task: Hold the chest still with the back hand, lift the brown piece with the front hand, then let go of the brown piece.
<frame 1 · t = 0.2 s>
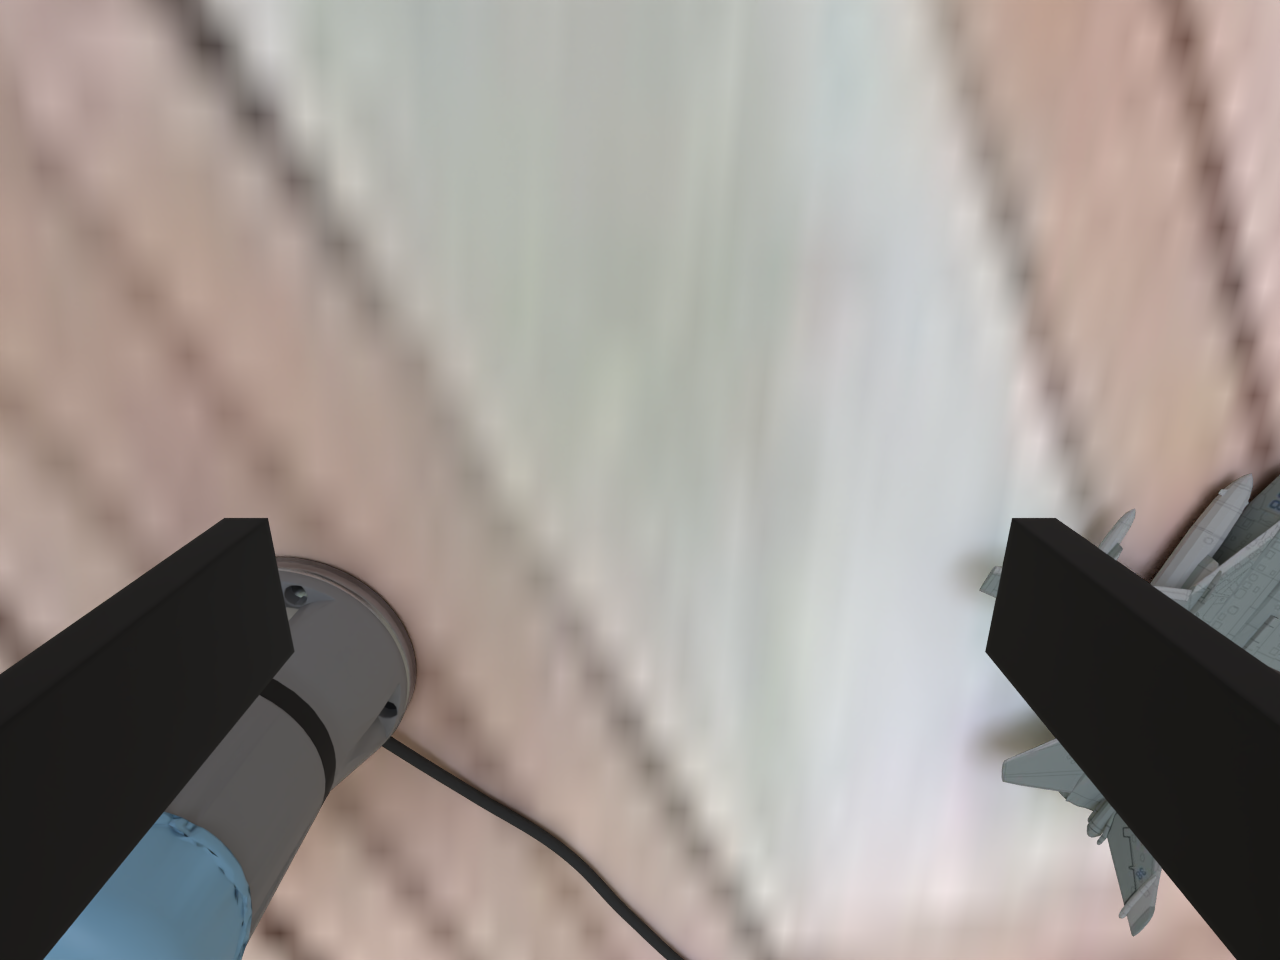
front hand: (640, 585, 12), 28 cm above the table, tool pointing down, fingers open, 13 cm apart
airplane: (1207, 564, 43), on the table
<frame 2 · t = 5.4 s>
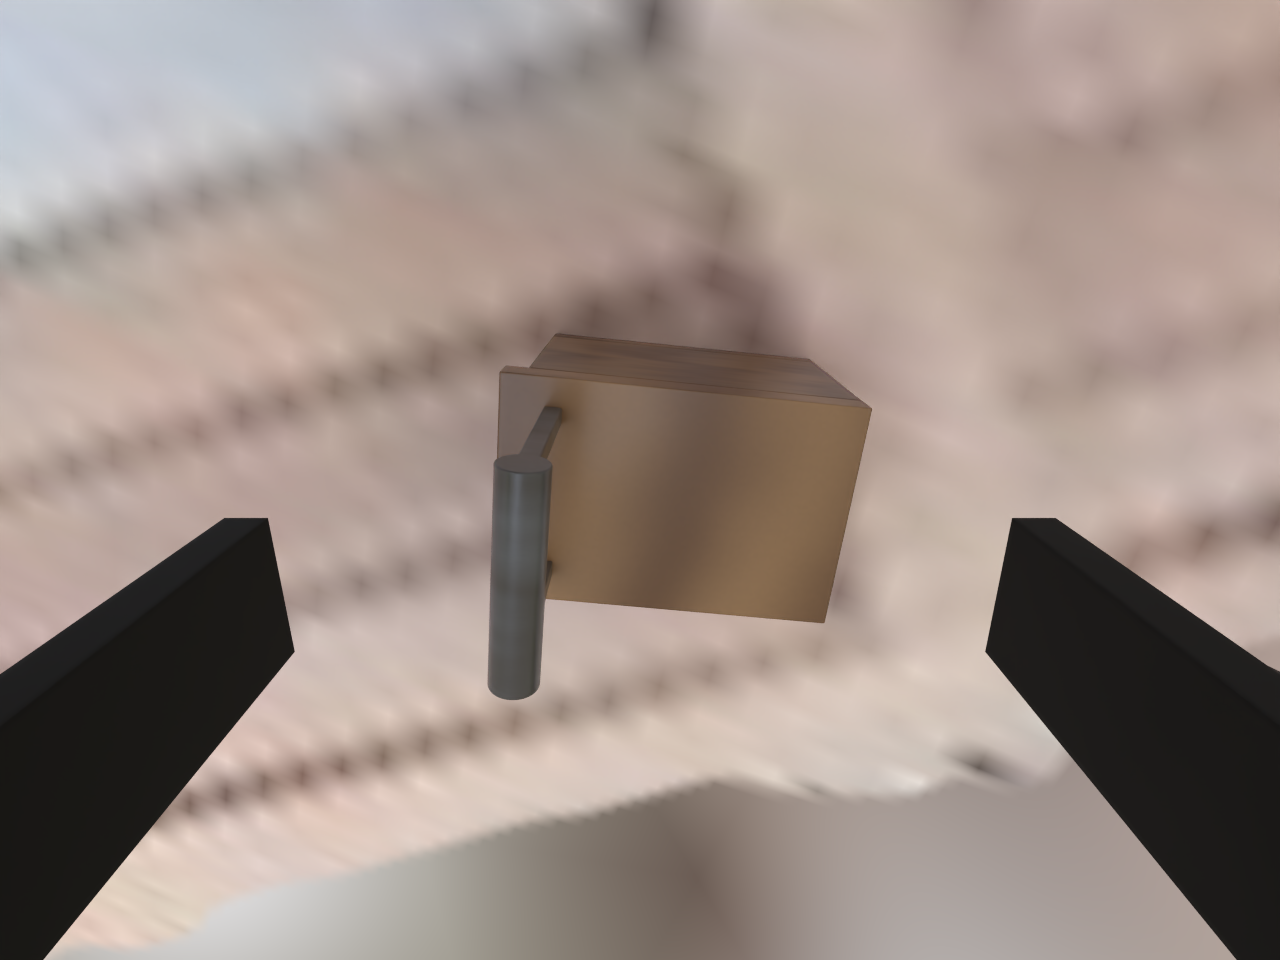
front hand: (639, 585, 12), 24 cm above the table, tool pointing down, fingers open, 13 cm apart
chest: (672, 434, 37), on the table
brown piece: (677, 542, 24), point 13 cm above the table, hinge at 0.0°
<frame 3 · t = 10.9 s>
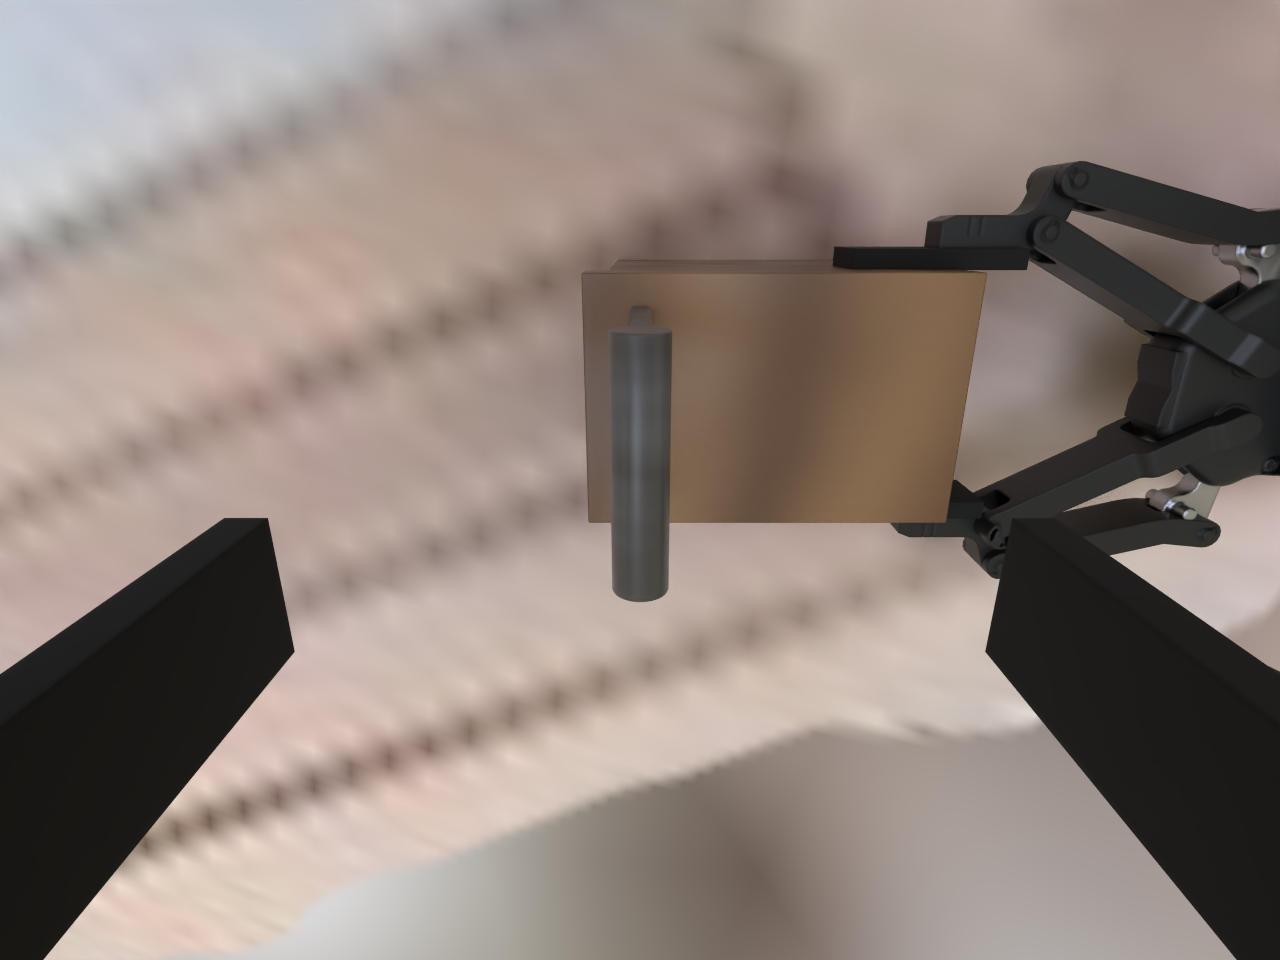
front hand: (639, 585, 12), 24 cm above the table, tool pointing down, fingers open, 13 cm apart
back hand: (830, 385, 28), fingers closed on chest, 9 cm apart
chest: (747, 357, 35), on the table, touching back hand
brown piece: (793, 430, 22), point 13 cm above the table, hinge at 0.0°
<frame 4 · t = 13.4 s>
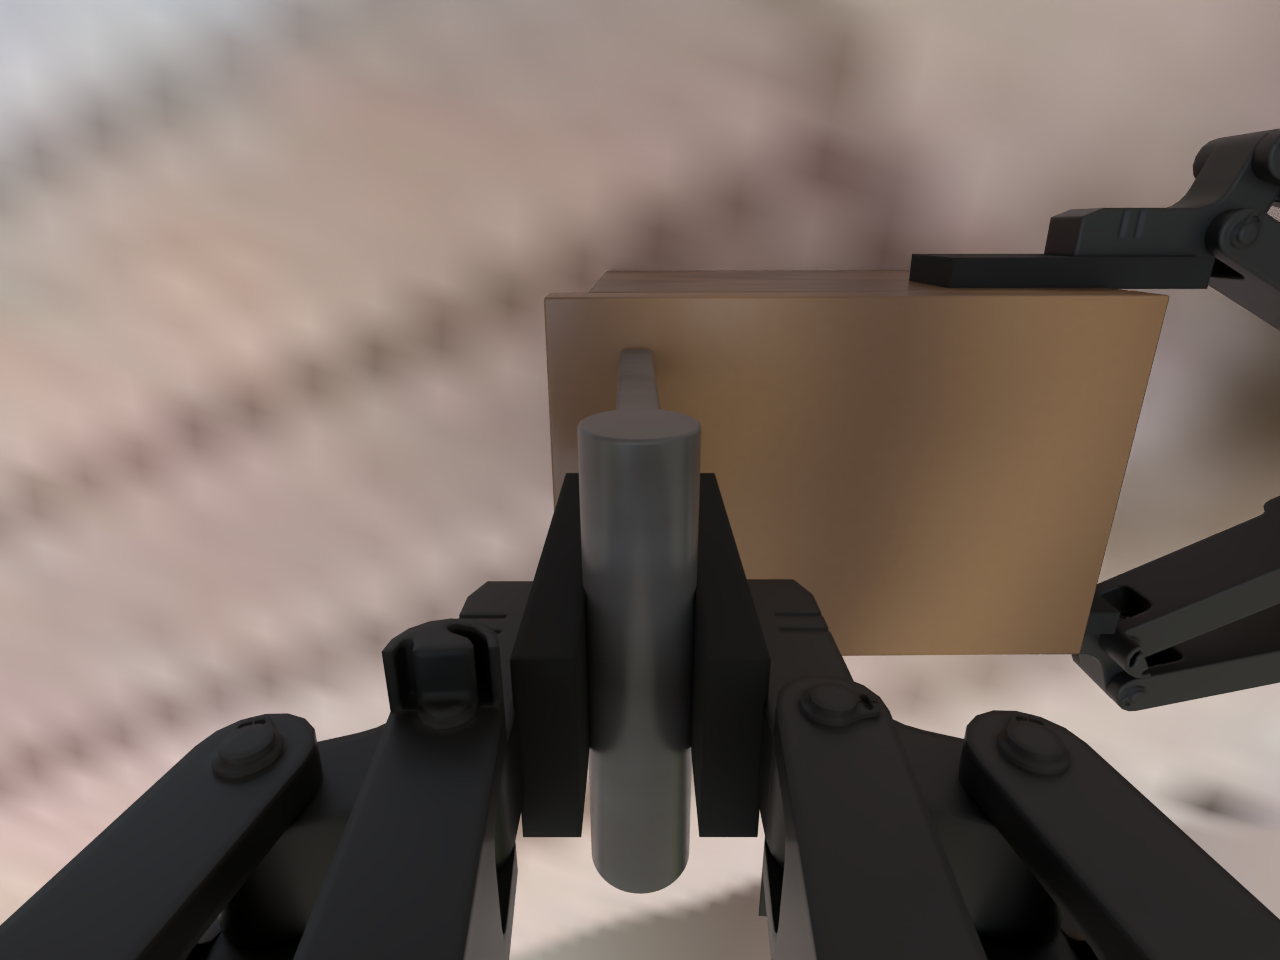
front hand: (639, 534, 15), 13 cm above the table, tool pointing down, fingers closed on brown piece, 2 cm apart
back hand: (905, 449, 20), fingers closed on chest, 9 cm apart
chest: (778, 397, 26), on the table, touching back hand
brown piece: (884, 552, 14), point 13 cm above the table, hinge at 0.8°, touching front hand
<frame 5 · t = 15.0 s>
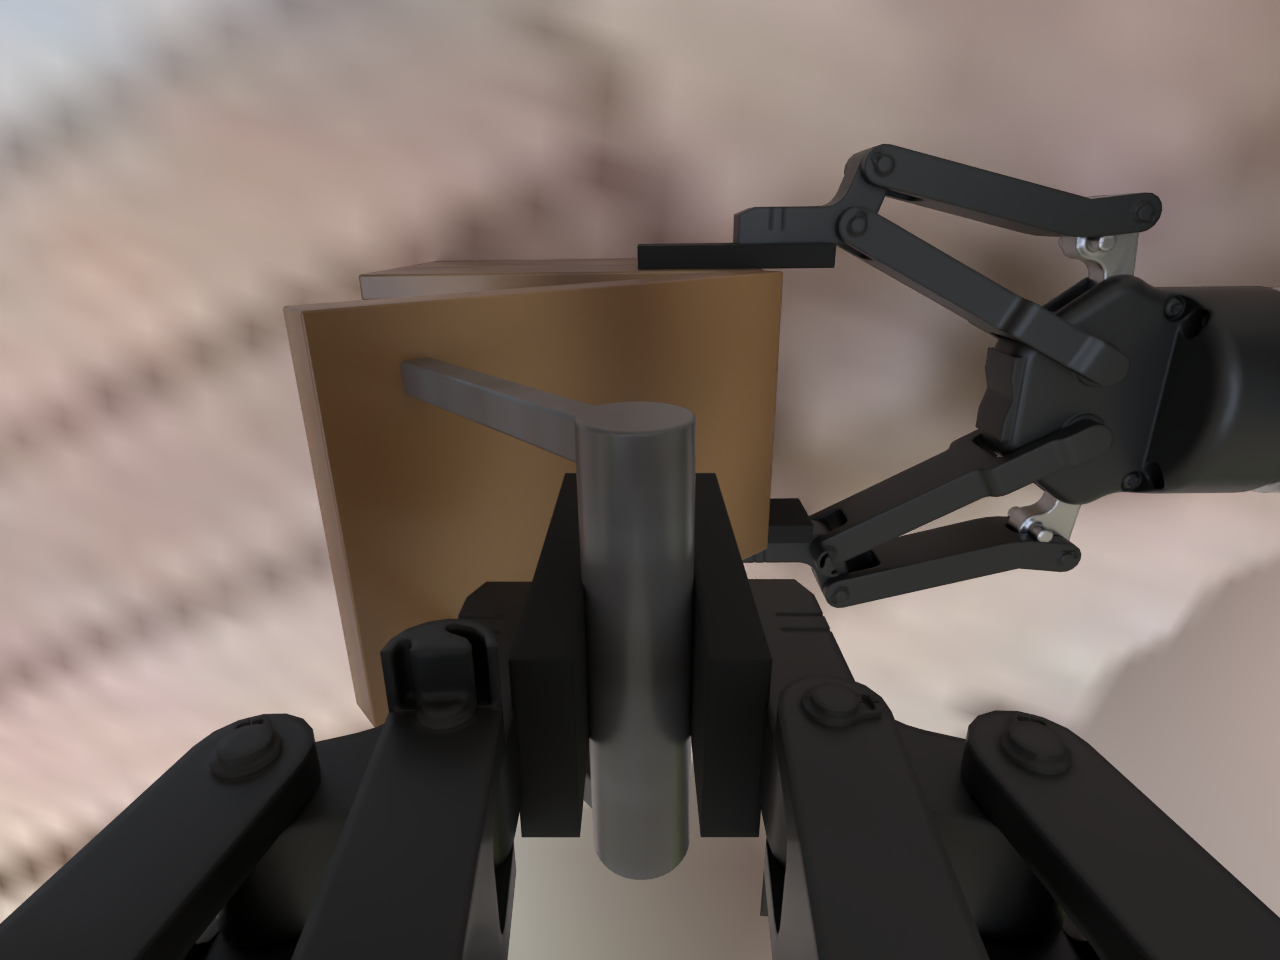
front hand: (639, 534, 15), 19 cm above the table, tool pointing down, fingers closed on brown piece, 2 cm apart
back hand: (640, 398, 26), fingers closed on chest, 9 cm apart
chest: (587, 364, 32), on the table, touching back hand
brown piece: (696, 502, 16), point 17 cm above the table, hinge at 41.1°, touching front hand
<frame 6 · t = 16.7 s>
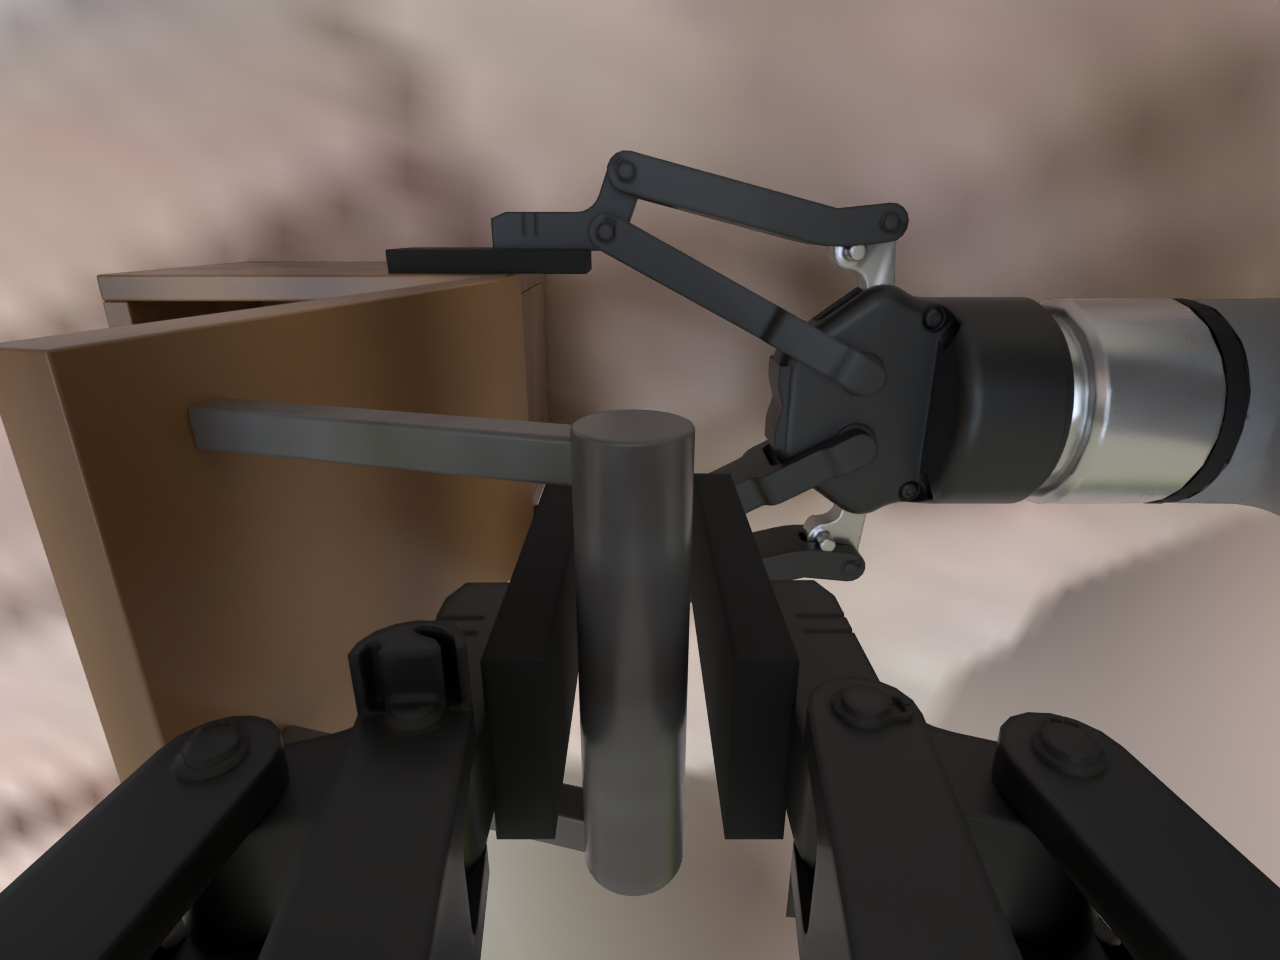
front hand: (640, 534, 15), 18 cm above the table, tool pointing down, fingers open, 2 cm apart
back hand: (416, 402, 26), fingers closed on chest, 9 cm apart
chest: (406, 368, 32), on the table, touching back hand
brown piece: (537, 514, 16), point 17 cm above the table, hinge at 74.5°
when the back hand's fingers open (7 cm above the table, at t = 20.7 s): chest stays where it is, on the table.
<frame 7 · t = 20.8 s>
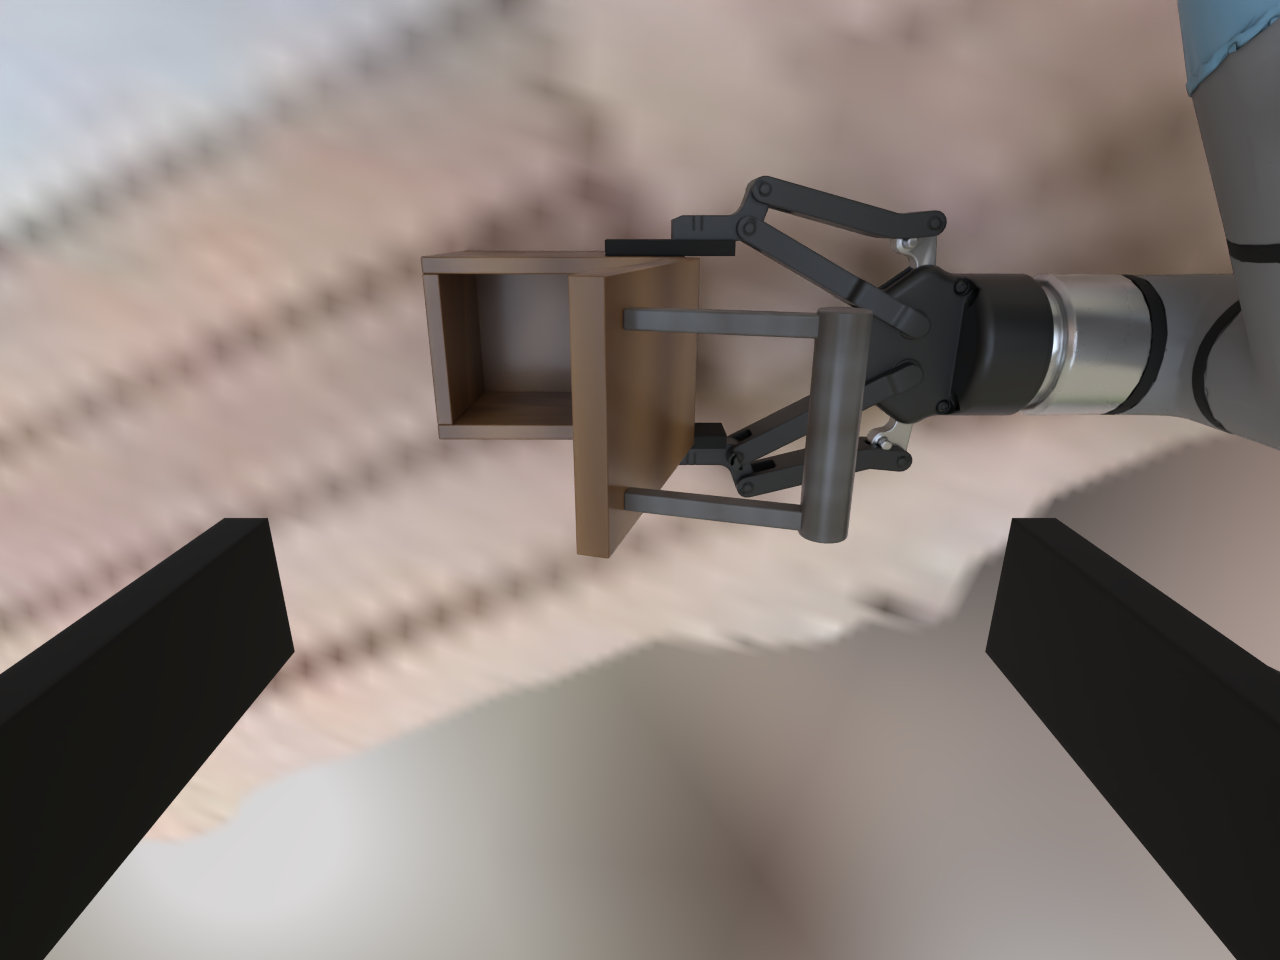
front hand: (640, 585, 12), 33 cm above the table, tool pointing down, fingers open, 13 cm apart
back hand: (607, 345, 37), fingers open, 9 cm apart
chest: (572, 328, 44), on the table
brown piece: (741, 388, 27), point 17 cm above the table, hinge at 73.7°
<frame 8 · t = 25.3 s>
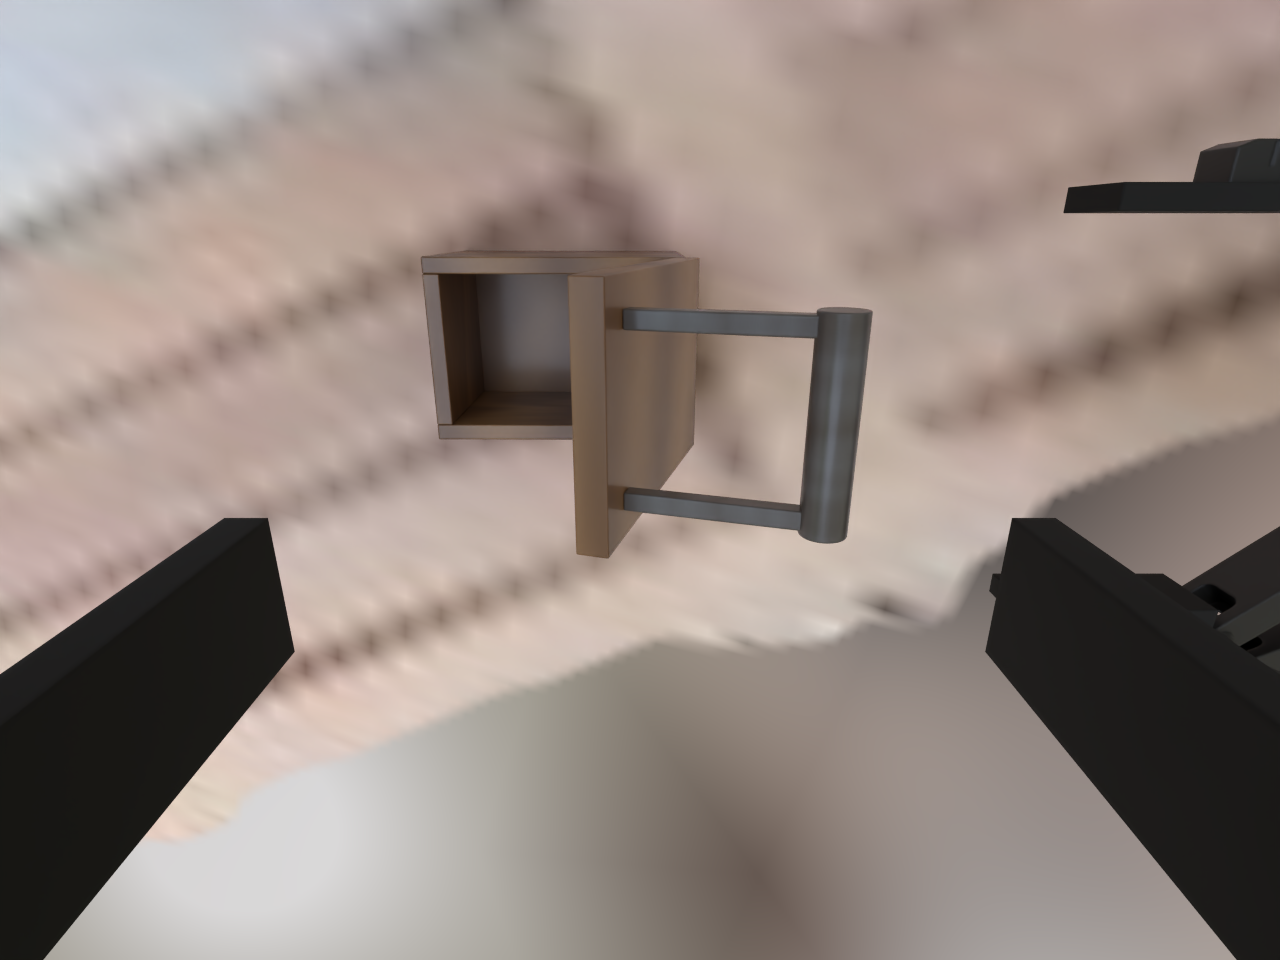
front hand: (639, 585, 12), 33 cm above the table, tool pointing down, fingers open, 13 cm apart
chest: (572, 328, 44), on the table
brown piece: (741, 388, 27), point 17 cm above the table, hinge at 73.7°
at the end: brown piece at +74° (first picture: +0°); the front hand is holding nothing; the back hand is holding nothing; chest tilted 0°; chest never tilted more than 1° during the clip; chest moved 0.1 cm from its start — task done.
